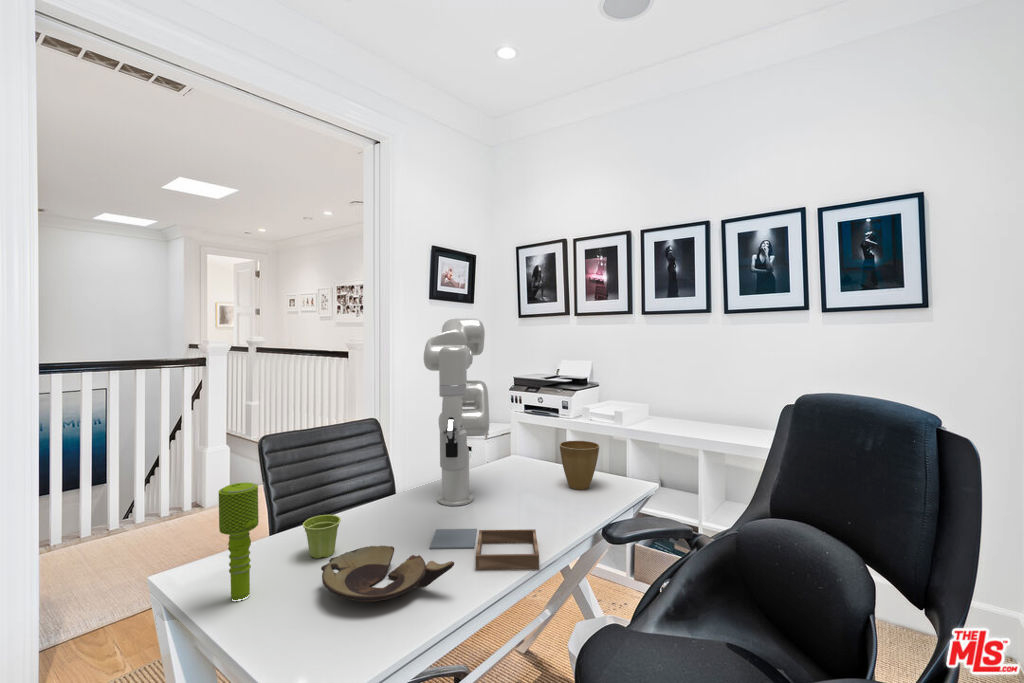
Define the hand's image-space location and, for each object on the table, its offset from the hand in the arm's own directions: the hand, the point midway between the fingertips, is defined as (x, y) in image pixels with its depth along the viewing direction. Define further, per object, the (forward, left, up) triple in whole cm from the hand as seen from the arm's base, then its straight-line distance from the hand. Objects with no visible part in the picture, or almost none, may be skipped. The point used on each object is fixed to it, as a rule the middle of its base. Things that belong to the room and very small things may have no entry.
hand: (453, 452), depth 137 cm
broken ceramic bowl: (+27, -13, -25) cm, 39 cm away
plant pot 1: (+8, -34, -25) cm, 43 cm away
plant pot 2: (-45, +42, -25) cm, 66 cm away
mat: (0, 0, -24) cm, 24 cm away
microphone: (+29, -44, -25) cm, 58 cm away
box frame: (+10, +15, -24) cm, 30 cm away
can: (0, 0, -5) cm, 5 cm away
